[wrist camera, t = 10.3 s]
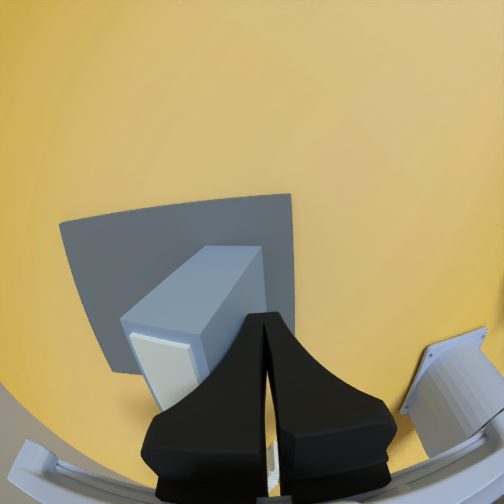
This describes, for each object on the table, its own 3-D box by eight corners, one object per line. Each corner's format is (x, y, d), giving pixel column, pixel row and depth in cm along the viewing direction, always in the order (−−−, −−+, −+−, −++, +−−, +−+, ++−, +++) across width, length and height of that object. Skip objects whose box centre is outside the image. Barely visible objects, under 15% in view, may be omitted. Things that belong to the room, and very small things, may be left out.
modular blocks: (299, 474, 26) (302, 497, 22) (248, 473, 26) (248, 498, 22) (367, 384, 19) (382, 419, 15) (290, 383, 19) (296, 424, 15)
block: (268, 336, 15) (226, 440, 9) (220, 330, 16) (162, 421, 10) (261, 246, 13) (196, 339, 7) (205, 245, 14) (116, 321, 8)
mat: (293, 368, 18) (294, 372, 17) (114, 368, 18) (112, 371, 18) (289, 193, 14) (290, 194, 13) (62, 222, 14) (58, 224, 14)
